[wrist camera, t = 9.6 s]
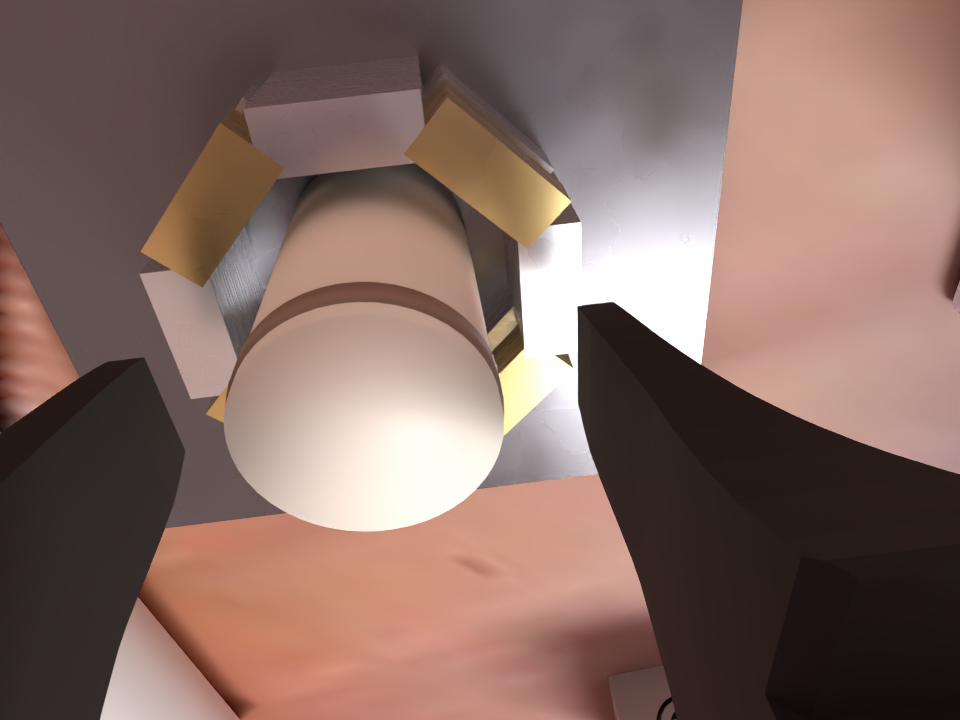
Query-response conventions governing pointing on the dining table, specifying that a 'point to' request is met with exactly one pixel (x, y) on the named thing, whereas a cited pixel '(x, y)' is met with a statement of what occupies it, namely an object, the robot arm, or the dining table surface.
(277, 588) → the dining table surface
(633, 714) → the dice cube
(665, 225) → the collar stand
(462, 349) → the beige round peg
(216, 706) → the tube
